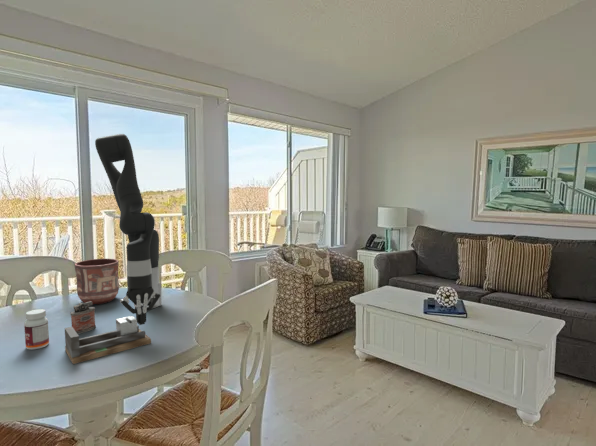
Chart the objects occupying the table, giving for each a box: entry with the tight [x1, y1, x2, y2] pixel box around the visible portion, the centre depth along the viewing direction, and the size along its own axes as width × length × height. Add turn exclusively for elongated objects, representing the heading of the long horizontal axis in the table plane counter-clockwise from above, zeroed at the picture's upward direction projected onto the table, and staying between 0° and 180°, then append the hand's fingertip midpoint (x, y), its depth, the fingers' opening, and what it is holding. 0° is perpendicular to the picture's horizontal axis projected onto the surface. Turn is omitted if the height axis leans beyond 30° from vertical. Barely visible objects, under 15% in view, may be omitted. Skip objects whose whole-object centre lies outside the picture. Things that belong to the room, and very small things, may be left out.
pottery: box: [74, 258, 120, 306], centre depth 165 cm, size 18×18×18 cm
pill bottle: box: [23, 308, 50, 350], centre depth 117 cm, size 6×6×11 cm
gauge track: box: [64, 324, 152, 365], centre depth 116 cm, size 22×12×8 cm, turn 131°
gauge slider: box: [115, 315, 138, 337], centre depth 119 cm, size 5×7×6 cm
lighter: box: [69, 301, 97, 335], centre depth 130 cm, size 8×3×10 cm, turn 148°
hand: (141, 323), depth 122 cm, fingers closed
